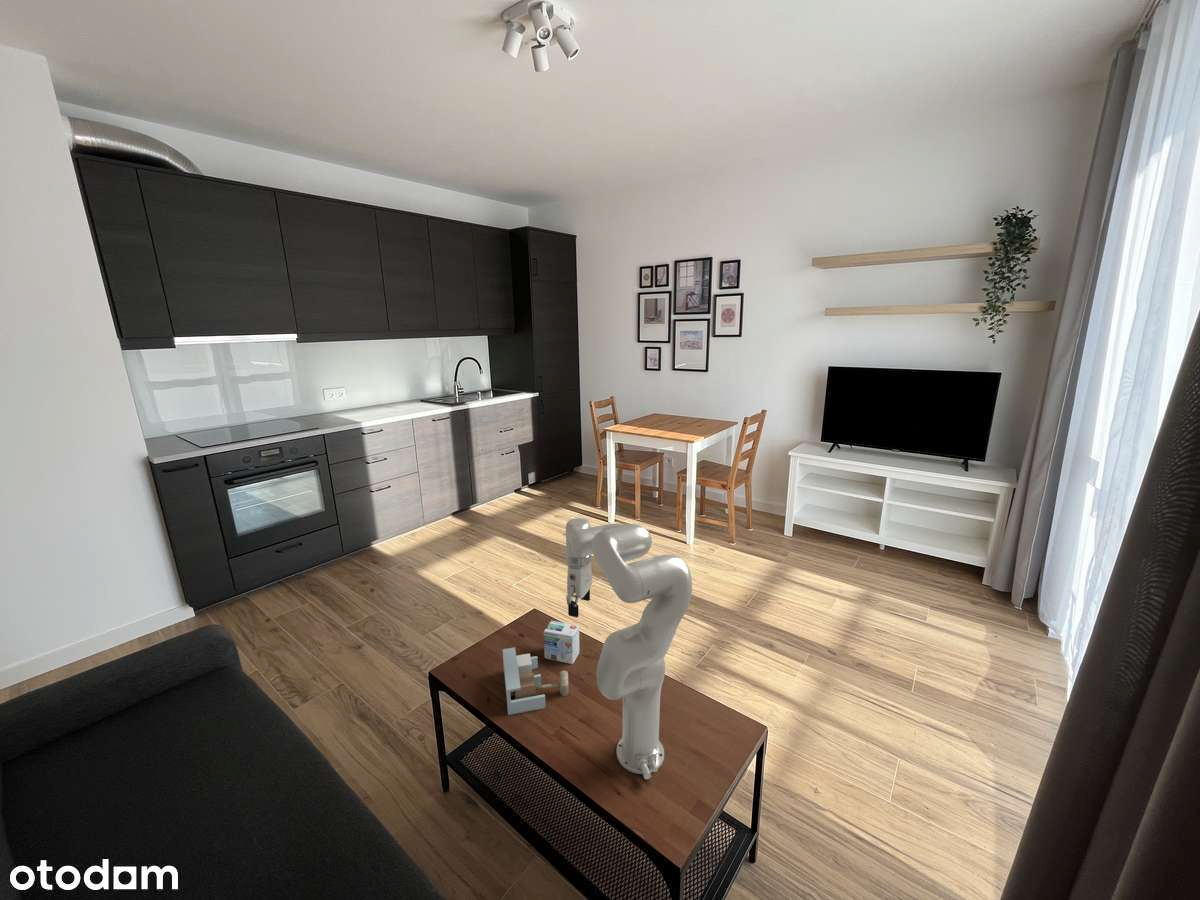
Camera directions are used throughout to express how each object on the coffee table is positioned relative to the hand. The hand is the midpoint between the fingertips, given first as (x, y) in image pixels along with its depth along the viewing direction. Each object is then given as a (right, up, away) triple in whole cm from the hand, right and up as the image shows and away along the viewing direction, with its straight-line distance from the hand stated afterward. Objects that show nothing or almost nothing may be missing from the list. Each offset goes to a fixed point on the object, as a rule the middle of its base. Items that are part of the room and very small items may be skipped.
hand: (579, 607), depth 157 cm
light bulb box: (-7, -21, +14) cm, 26 cm away
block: (-19, -24, +3) cm, 30 cm away
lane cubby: (-17, -25, -2) cm, 30 cm away
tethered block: (-11, -26, -5) cm, 28 cm away
